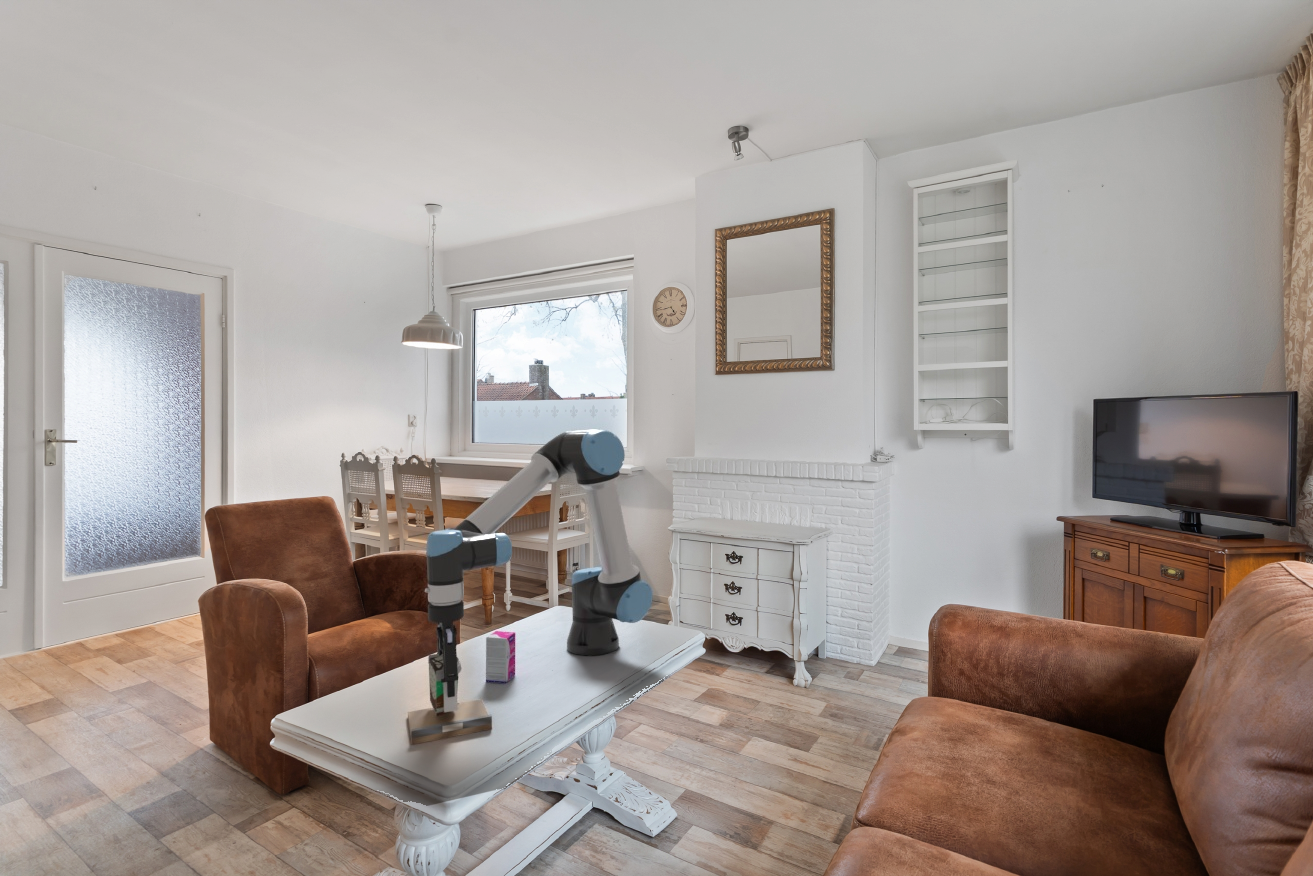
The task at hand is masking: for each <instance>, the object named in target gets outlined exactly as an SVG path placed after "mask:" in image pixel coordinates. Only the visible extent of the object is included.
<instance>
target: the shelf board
mask: <svg viewBox="0 0 1313 876" xmlns="http://www.w3.org/2000/svg"><path fill="white" fill-rule="evenodd" d="M457 703H458V702H457ZM407 719H408V727H409V735H410V743H411V744H410V745H416V744H422V743H426V742H432V741H437V740H442V739H447V738H452V737H457V736H462V735H467V734H473V733H478V732H483V731H488V730H492V729H493V716H492V714H491V713H490V714H489V713H488V711H487V708H486V706H485V703H484V702H483V698H480V699H479V698H478V699H475V700H469V701H464V702H459V703H458V710H455V711H450V712H449V713H446V714H443V715H440V716H436V714H435V712H434V709H433V707H429V708H423V709H418V710H412V711H408V712H407Z"/></svg>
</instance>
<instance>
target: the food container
mask: <svg viewBox="0 0 1313 876" xmlns="http://www.w3.org/2000/svg"><path fill="white" fill-rule="evenodd" d="M457 670H458V674H459V673H461V671H462V664H461V661H460V659H459V657H458V656H457ZM450 675H454V674H450ZM448 676H449V675H448ZM428 678H429V684H428V685H429V701H430V703H431V706H432V707H431V708H433V709H434V712H435V714H436V716H440V715H443V714H446V713H449V712H444V687H443V683H441V679H444V666H443V654H442V655H440V656H439V654H437V653H433V654H428ZM458 686H459V679H458V680H457V691H458V690H459V689H458V688H459V687H458Z"/></svg>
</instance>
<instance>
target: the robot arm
mask: <svg viewBox="0 0 1313 876" xmlns="http://www.w3.org/2000/svg"><path fill="white" fill-rule="evenodd" d="M625 456H626V455H625V449H624V445H623V442H621V440H620V438H619V437H618V436H617V435H616V434H614V433H613V432H612V431H609V430H604V429H600V428H599V429H596V428H594V429H582V430H581V429H579V430H577V429H575V430H574V429H573V430H572V429H571V430H566V431H564V432H562V433H560V434H558V435H556V436H555V437H553V438H552V439H550V440H549V441H548V442H546V443H545V444H544V445H543V446H542V447H540V448H539V449H538V450H537V451H536V452H534V453H533V454H532V455H531V457H530V460H531V461H530V462H529V463H527V465H525V466H524V467H523V468H522V469H521V470H520V471H518V472H517V473H516V474H514V476H513V477H512V478H510V479H509V480H508V481H507V482H506V483H505V484H504V485H502V486H501V487H499V489H498V490H496V491H495V492H494V493H493V494H492V495H491V496H490V497H489V498H488V499H486V500H485V501H484V502H483V503H482V504H481V505H480V506H478V507H477V508H476V509H475V510H473V512H472V513H470V514H469V515H468V516H467V517H466V518H465V519H464V520H462V521H461V522H459V524H458V525H457V526H456V527H450V528H445V529H444V530H442V529H441V530H435V531H432V532H430V533H429V534H428V536H427V538H426V539H427V540H426V553H425V556H426V567H427V570H426V571H427V572H426V573H427V588H425V589H424V593H427V601H428V602H429V604H428V605H427V619H428V622H431V623H432V624H434V623H435V624H437V626H436V628H435V630H436V641H437V647H436V648H437V649H436V650H437V652H436V654H439V656H440V655H442V654H443V666H444V679H441V683H443V687H444V712H450V711H455V710H458V690H457V680H458V681H459V673H458V670H457V657H458V655H457V646H458V645H457V644H458V643H457V633H458V631H457V627H456V625H455V624H454V623H455V622H456V621H459V620H462V619H463V618H464V615H465V611H464V610H465V607H464V606H465V605H464V603H465V602H464V601H463V599H464V598H465V595H464V594H465V593H464V591H465V589H464V586H465V585H464V572H467V571H473V570H480V569H485V568H493V567H496V568H497V566H502V565H504V564H507V563H508V562H510V560H511V558H512V555H513V544H512V541H511V538H510V537H509V535H508V534H506V533H504V532H499V533H498V532H497V531H498V530H499V529H500V528H501V527H502V526H503V525H504V524H505V523H506V522H508V521H509V520H510V519H511V518H512V517H513V516H515V514H516V513H518V512H519V511H520V510H521V509H522V508H523V507H524V506H525V505H526V504H527V503H528V502H530V501H531V499H533V498H534V497H535V496H536V495H537V494H538V493H539V492H541V491H542V490H543V489H544V488H545V487H546V486H547V485H548V484H549V483H556V482H557V481H558V480H559V479H560V478H561V477H564V476H565V475H568V474H570V473H575V477H576V482H577V485H578V486H579V487H581V488H583V489H584V491H585V497H586V502H587V507H588V511H589V516H590V520H591V525H592V531H593V535H594V539H595V545H596V548H597V554H598V558H599V563H600V566H596V567H595V566H594V567H588V568H582V569H578V570H575V571H574V572H573V573H572V577H571V585H570V586H571V600H572V601H571V602H572V603H571V607H572V622H571V625H570V629H569V633H568V635H567V639H566V650H567V651H568V652H570V653H572V654H575V655H580V656H599V655H606V654H610V653H612V652H614V651H617V650H618V649H619V647H620V646H619V645H620V643H619V642H620V639H619V635H618V633H617V629H616V626H615V624H614V620H617V621H619V622H621V623H629V624H635V623H638V622H640V621H642V620H643V619H644V617H646V616H647V615H648V613H649V611H650V609H651V607H652V603H653V596H654V595H653V590H652V587H651V586H650V584H649V583H647V582H646V581H645V580H642V577H641V572H640V568H639V567H638V566H637V565H635V564H633V562H632V561H633V559H632V555H631V551H630V546H629V540H628V535H627V532H626V531H627V530H626V525H625V521H624V517H623V512H622V507H621V502H620V497H619V492H618V487H617V481H618V479H619V478H620V477H621V473H620V470H621V469H622V467H623V465H624V463H623V462H624V461H625ZM450 674H454V675H450ZM448 675H449V676H448Z"/></svg>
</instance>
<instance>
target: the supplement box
mask: <svg viewBox="0 0 1313 876" xmlns="http://www.w3.org/2000/svg"><path fill="white" fill-rule="evenodd" d="M485 641H486V642H485V643H486V644H485V683H491V684H508V682H509V681H510V680H512V679H513V678H514V677H515V676H516V632H515V631H513V632H512V631H500V630H499V631H498V630H496V631H494V632H492V633H490V634H489V635H488V636H486V637H485Z"/></svg>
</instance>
